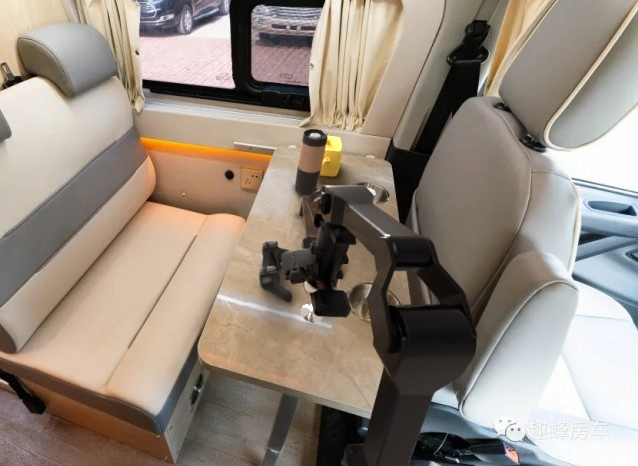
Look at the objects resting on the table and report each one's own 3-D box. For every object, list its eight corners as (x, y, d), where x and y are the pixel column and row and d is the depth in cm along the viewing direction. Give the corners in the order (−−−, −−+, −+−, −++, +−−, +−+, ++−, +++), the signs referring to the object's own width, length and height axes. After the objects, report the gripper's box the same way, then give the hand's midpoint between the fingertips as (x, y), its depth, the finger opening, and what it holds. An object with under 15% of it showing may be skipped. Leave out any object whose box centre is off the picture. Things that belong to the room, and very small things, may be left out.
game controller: (271, 260, 92) (256, 235, 86) (294, 255, 89) (280, 229, 84) (267, 309, 80) (250, 283, 75) (294, 304, 77) (278, 277, 72)
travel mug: (292, 192, 112) (301, 137, 99) (295, 180, 117) (304, 127, 104) (315, 196, 110) (327, 141, 97) (317, 184, 116) (329, 130, 102)
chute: (341, 276, 84) (348, 257, 79) (310, 275, 84) (315, 256, 80) (324, 214, 103) (328, 196, 98) (298, 214, 103) (301, 196, 99)
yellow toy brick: (339, 184, 116) (347, 154, 108) (303, 180, 118) (309, 150, 110) (337, 157, 130) (344, 128, 122) (305, 153, 132) (311, 125, 124)
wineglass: (322, 331, 69) (334, 296, 61) (292, 318, 72) (300, 283, 64) (331, 307, 74) (343, 272, 66) (302, 296, 76) (310, 261, 68)
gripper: (282, 213, 67) (274, 265, 77) (292, 285, 53) (281, 337, 63) (338, 215, 66) (322, 267, 76) (362, 287, 52) (339, 339, 62)
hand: (315, 299), depth 70 cm, fingers closed on wineglass, 6 cm apart
